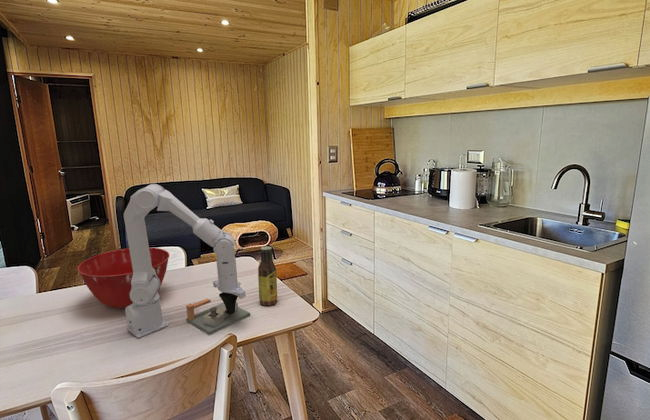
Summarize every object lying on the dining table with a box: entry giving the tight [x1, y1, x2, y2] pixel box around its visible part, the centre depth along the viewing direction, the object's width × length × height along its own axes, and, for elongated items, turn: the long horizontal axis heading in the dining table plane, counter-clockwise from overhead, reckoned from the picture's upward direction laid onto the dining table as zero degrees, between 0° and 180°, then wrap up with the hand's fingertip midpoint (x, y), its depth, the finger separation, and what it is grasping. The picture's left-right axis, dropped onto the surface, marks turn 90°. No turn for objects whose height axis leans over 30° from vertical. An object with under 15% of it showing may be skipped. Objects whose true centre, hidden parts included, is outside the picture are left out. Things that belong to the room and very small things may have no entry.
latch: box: [203, 301, 239, 327], centre depth 117 cm, size 12×4×2 cm, turn 154°
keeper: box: [185, 298, 212, 320], centre depth 119 cm, size 8×2×5 cm, turn 139°
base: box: [185, 302, 251, 336], centre depth 118 cm, size 15×13×6 cm
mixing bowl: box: [77, 247, 170, 310], centre depth 131 cm, size 28×28×15 cm
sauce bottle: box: [257, 246, 278, 307], centre depth 127 cm, size 6×6×20 cm
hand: (231, 312), depth 118 cm, fingers closed, pressing on latch
